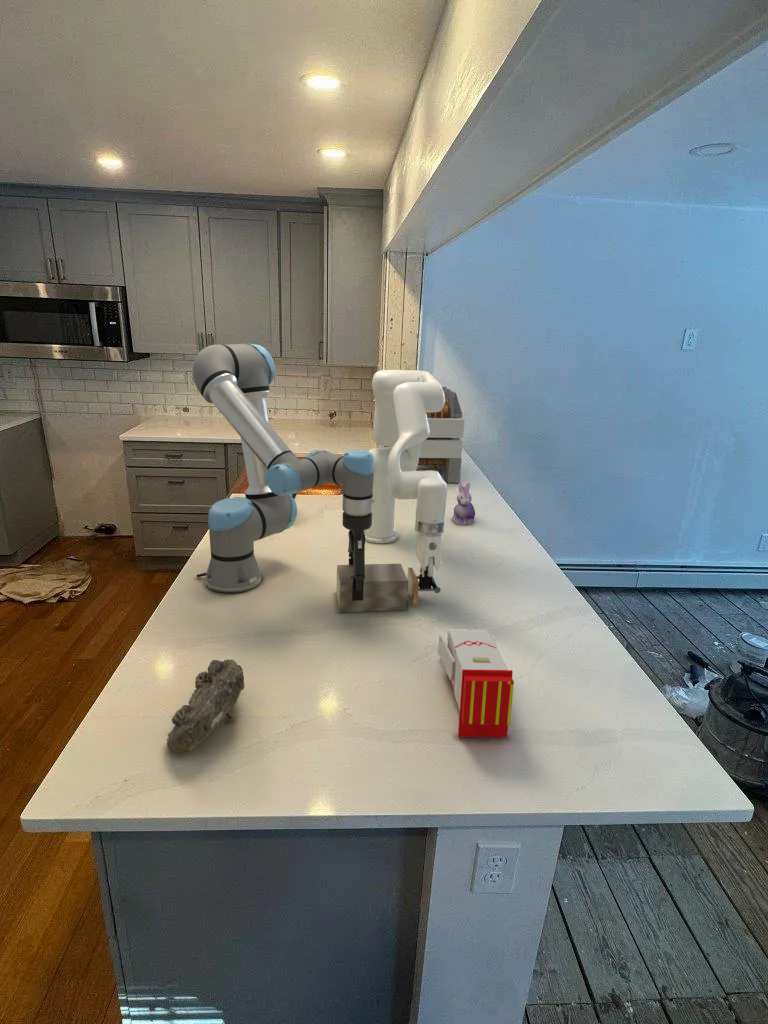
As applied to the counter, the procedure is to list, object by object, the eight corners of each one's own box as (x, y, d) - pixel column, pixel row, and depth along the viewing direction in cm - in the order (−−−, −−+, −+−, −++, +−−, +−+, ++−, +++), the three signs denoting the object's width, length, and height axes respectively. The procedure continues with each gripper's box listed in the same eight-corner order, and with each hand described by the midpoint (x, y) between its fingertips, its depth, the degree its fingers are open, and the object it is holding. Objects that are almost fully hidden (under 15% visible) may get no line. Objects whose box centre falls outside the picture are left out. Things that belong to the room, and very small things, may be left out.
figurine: (460, 527, 208) (464, 488, 203) (445, 518, 217) (448, 480, 212) (481, 523, 212) (485, 485, 207) (465, 515, 221) (469, 478, 216)
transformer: (382, 463, 289) (386, 382, 275) (445, 464, 293) (451, 384, 279) (390, 482, 257) (394, 392, 243) (460, 483, 261) (468, 394, 247)
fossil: (192, 660, 117) (244, 628, 112) (224, 691, 120) (276, 661, 115) (142, 746, 98) (202, 712, 93) (182, 779, 101) (242, 748, 96)
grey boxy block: (399, 591, 159) (400, 563, 156) (405, 610, 150) (408, 580, 147) (336, 593, 156) (337, 564, 153) (339, 612, 147) (339, 582, 144)
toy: (488, 613, 130) (523, 677, 101) (484, 667, 133) (517, 744, 104) (435, 612, 130) (455, 676, 101) (432, 666, 133) (451, 743, 103)
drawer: (432, 588, 160) (434, 566, 157) (440, 604, 151) (442, 581, 149) (352, 591, 156) (353, 568, 154) (355, 607, 148) (356, 584, 145)
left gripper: (378, 528, 134) (375, 610, 141) (366, 497, 155) (364, 570, 162) (346, 528, 132) (345, 612, 140) (339, 497, 154) (338, 571, 161)
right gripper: (450, 536, 141) (444, 601, 148) (437, 515, 155) (432, 575, 162) (421, 536, 140) (416, 602, 147) (410, 515, 154) (406, 576, 160)
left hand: (355, 589), depth 151 cm, fingers closed on grey boxy block, 10 cm apart
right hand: (424, 588), depth 154 cm, fingers closed
